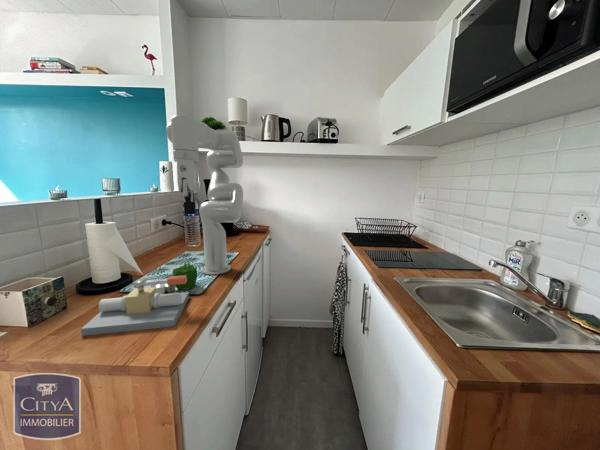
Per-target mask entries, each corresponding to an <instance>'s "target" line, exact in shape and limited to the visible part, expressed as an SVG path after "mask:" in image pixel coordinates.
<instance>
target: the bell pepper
mask: <svg viewBox="0 0 600 450" xmlns="http://www.w3.org/2000/svg"><path fill="white" fill-rule="evenodd" d="M181 275H187V282H186V284H177V285H176V288H175V289H177V290H180V291H183V290H191V289H194V288H195V286H196V284H197V280H198V279H197V278H198V270H197V268H196V267H194V265H193V264H191V263H189V262H186V263H184V264H183V265H181V266H179V267H176V268H173V270H172V276H181Z"/></svg>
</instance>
